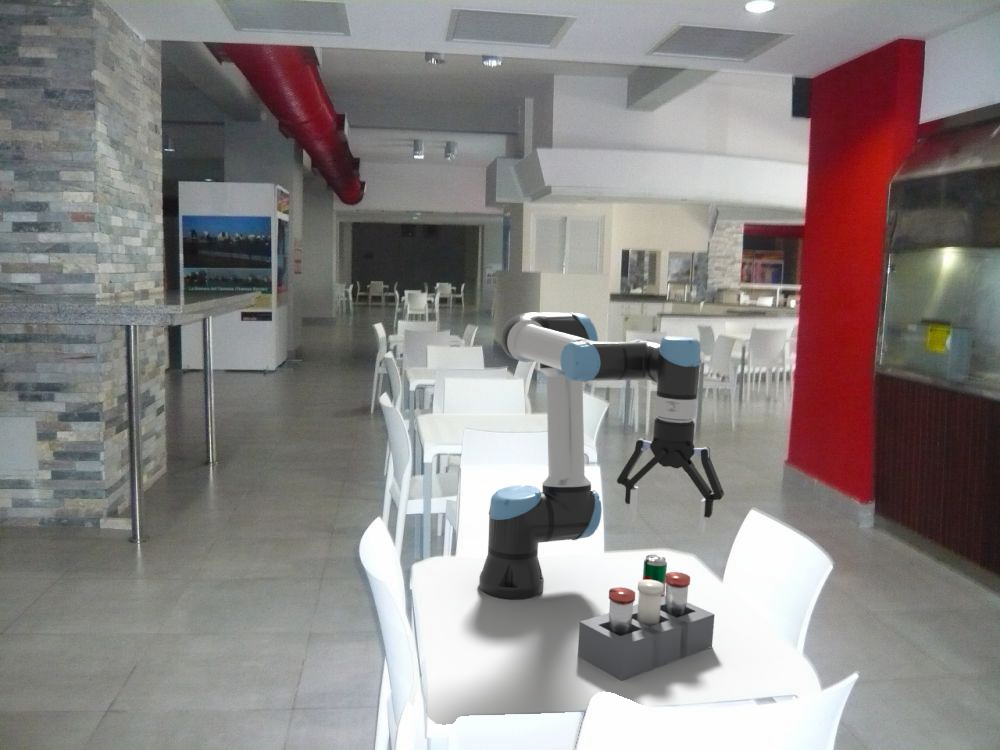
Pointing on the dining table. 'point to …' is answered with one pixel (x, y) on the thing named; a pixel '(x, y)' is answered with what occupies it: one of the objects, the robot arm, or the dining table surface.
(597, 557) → the dining table surface
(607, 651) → the gray vial holder
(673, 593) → the clear jar
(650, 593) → the white capped bottle
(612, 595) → the red-capped vial
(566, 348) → the robot arm
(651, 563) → the soda can
